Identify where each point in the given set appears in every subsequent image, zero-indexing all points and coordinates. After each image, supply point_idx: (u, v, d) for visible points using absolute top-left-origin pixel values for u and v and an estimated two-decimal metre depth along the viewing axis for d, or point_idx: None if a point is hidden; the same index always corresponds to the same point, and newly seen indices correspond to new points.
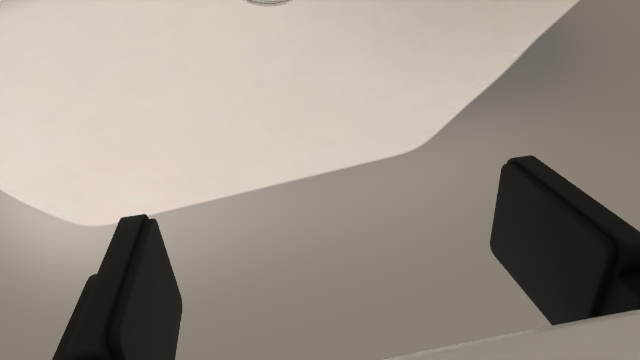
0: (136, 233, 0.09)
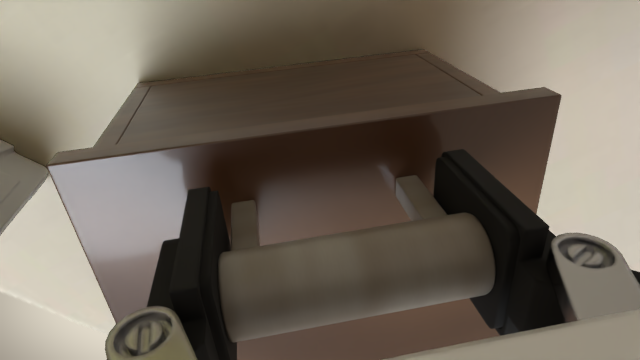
0: (206, 202, 0.10)
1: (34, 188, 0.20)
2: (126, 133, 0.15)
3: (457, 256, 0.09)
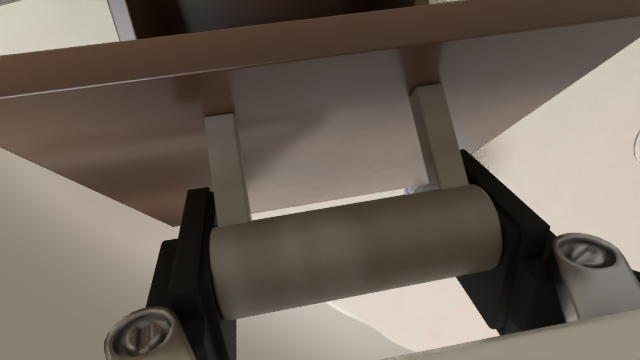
0: (205, 202, 0.10)
1: None
2: None
3: (464, 262, 0.09)
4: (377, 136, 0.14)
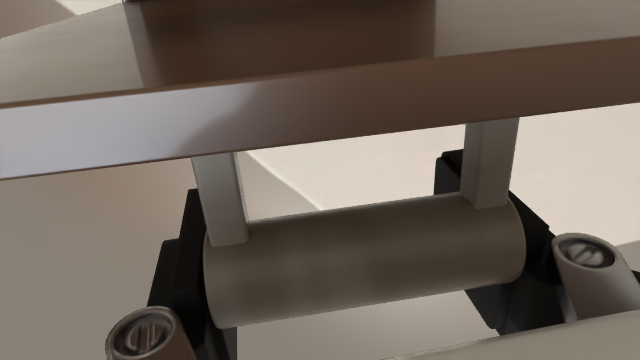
0: None
1: None
2: None
3: None
4: None
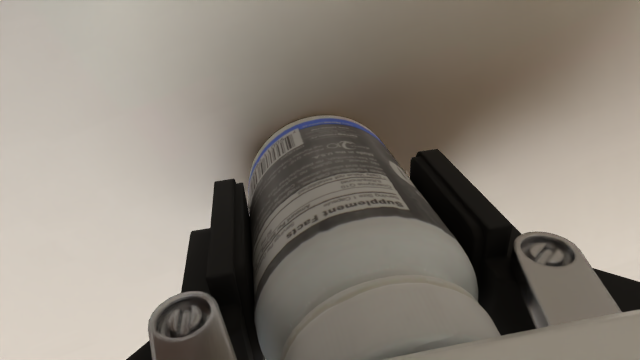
0: (233, 193, 0.11)
1: None
2: None
3: None
4: None
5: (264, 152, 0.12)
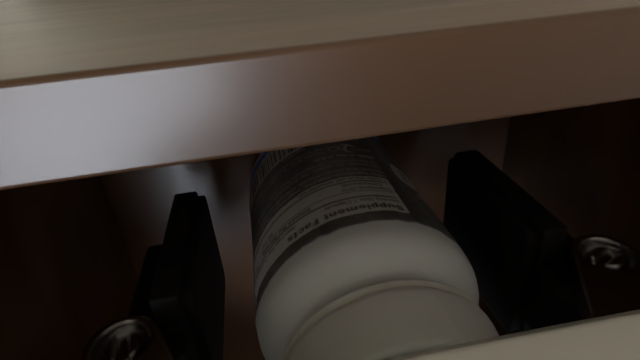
0: (192, 207, 0.10)
1: None
2: None
3: None
4: None
5: (265, 155, 0.12)
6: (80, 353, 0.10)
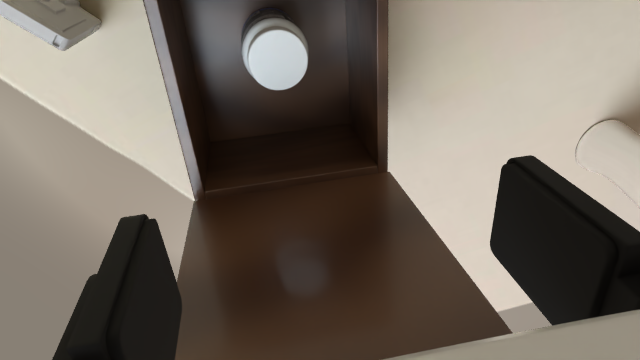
0: (136, 233, 0.09)
1: (94, 26, 0.32)
2: None
3: None
4: None
5: (247, 20, 0.34)
6: (186, 72, 0.31)
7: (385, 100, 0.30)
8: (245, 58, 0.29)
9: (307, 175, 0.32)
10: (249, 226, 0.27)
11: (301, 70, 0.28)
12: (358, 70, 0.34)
